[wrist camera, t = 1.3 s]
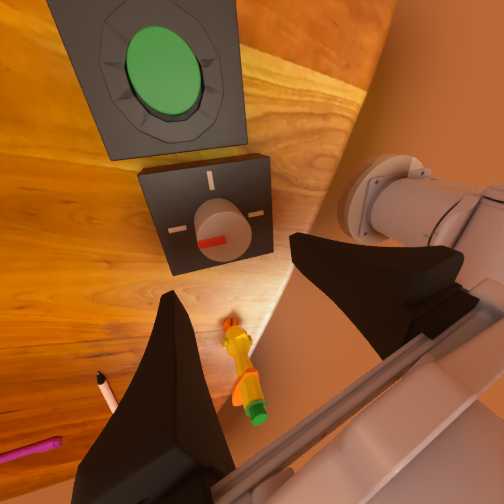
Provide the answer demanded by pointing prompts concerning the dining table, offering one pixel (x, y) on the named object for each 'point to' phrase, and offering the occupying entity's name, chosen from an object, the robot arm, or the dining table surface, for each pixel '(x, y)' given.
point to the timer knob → (221, 230)
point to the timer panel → (199, 191)
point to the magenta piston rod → (32, 449)
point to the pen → (107, 392)
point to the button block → (119, 84)
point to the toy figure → (244, 373)
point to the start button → (163, 70)
